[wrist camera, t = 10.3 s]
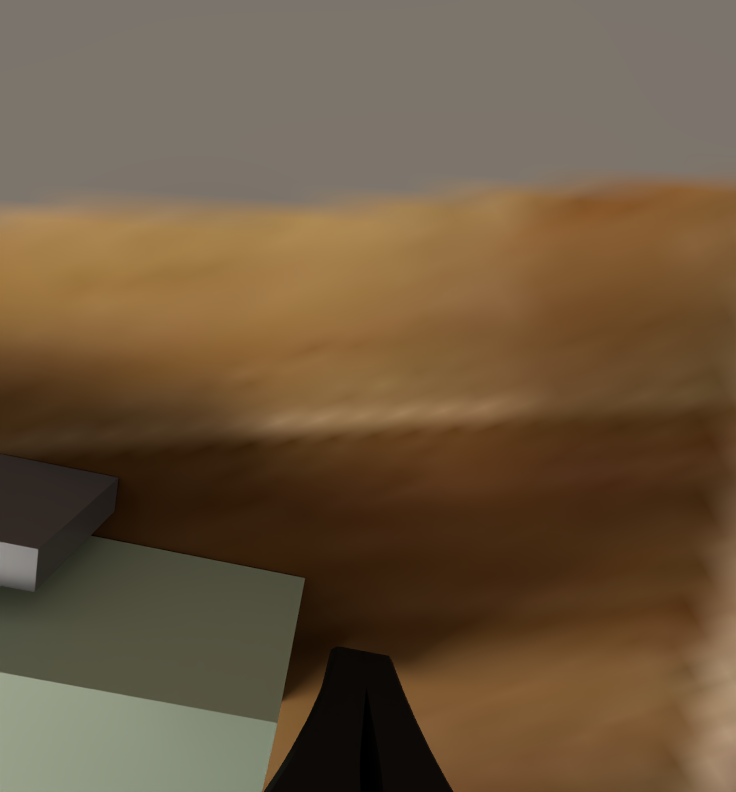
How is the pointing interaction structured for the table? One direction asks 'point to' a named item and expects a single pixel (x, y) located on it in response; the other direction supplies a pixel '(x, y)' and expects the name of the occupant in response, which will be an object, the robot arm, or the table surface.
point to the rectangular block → (143, 673)
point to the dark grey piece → (47, 517)
